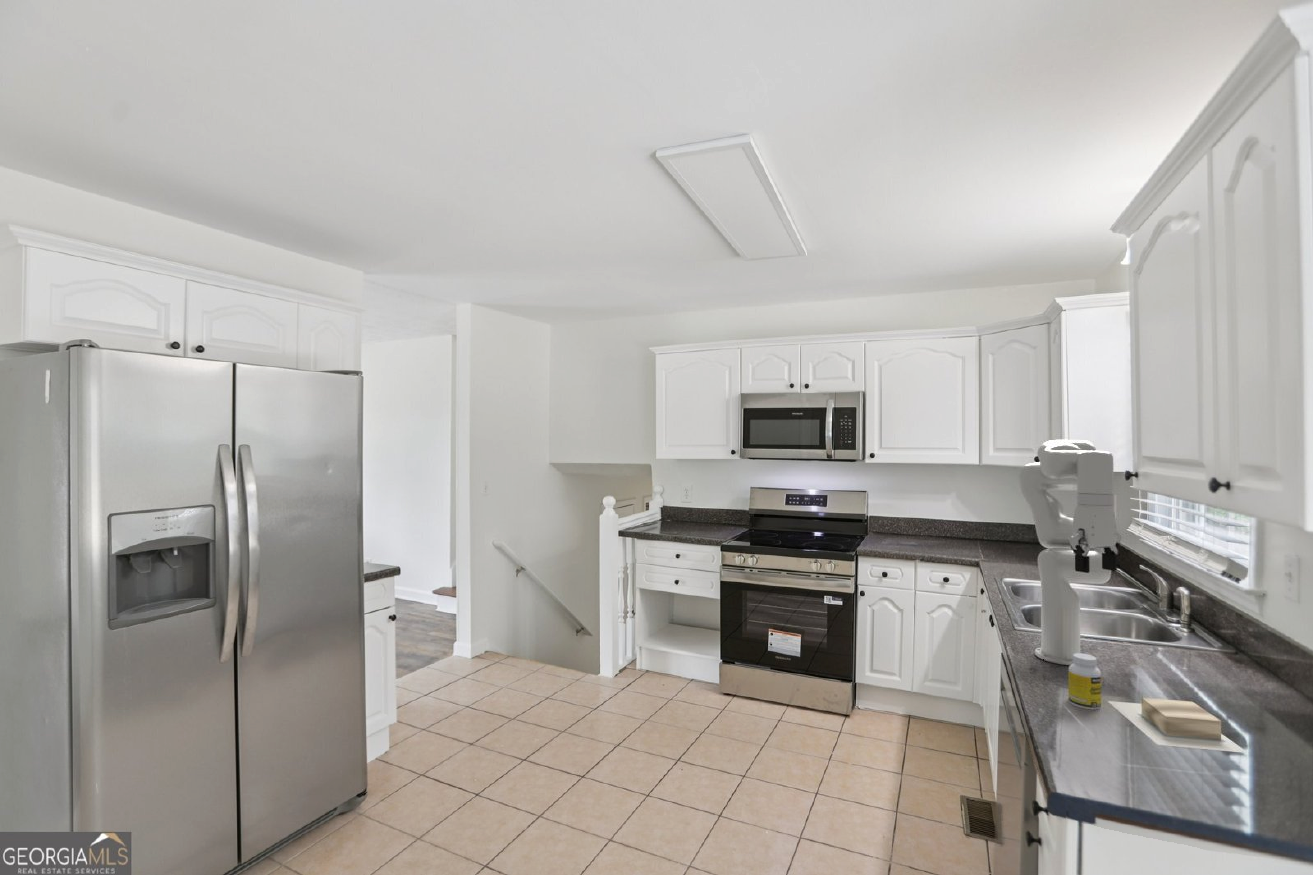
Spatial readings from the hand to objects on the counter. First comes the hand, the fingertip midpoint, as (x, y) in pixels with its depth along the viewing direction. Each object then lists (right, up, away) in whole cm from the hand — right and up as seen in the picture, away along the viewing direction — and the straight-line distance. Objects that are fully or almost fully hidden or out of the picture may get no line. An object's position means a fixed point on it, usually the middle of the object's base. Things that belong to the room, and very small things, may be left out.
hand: (1095, 570), depth 155 cm
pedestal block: (+7, -31, -17) cm, 36 cm away
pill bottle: (-6, -31, -5) cm, 32 cm away
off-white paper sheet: (+6, -31, -15) cm, 35 cm away
